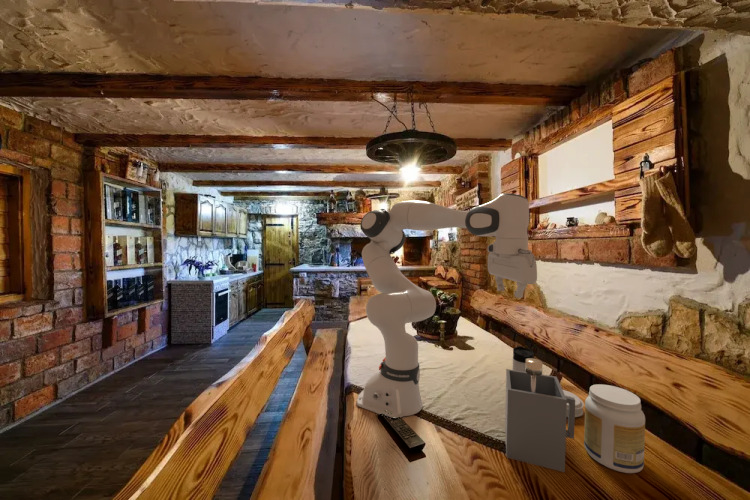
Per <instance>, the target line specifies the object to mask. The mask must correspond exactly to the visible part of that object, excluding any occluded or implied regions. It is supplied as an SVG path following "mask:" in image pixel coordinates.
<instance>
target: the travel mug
mask: <svg viewBox="0 0 750 500" xmlns="http://www.w3.org/2000/svg"><path fill="white" fill-rule="evenodd" d="M528 358H533V359H535V353H534V351H533V350H532V349H530V348H527V347H525V346H523V345H517V346H516V347H514V348H512V370H516V371H523V372H526V371H525V364H526V359H528Z"/></svg>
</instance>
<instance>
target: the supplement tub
mask: <svg viewBox="0 0 750 500" xmlns="http://www.w3.org/2000/svg"><path fill="white" fill-rule="evenodd" d="M641 402H642V401H641V398H640V397H639V396H638V395H636V394H635V393H633V392H631V391H630V390H628V389H625V388H622V387H618V386H614V385H609V384H604V383H603V384H602V383H601V384H600V383H599V384H597V383H596V384H593V385H591V386H590V387H589V392H588V396H586V398H585V401H584V433H583V434H584V435H583V436H584V437H583V439H584V441H583V444H584V449H585V450H586V453H588V455H589V456H590V457H591V458H592V459H593V460H595V461H596V462H598V463H599V464H601V465H603V466H604V467H607V468H608V469H610V470H613V471H616V472H620V473H625V474H636V473H639V472H641V471H642V470H643V468H644V466H645V441H646V440H645V438H646V436H645V435H646V433H645V432H646V415H645V414H644V411H643V410H642V404H641Z"/></svg>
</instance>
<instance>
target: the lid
mask: <svg viewBox="0 0 750 500" xmlns="http://www.w3.org/2000/svg"><path fill="white" fill-rule="evenodd" d="M562 390H563V392H564V395H565V396H567V397H573V398H575V418H577V417H582V416H583V415H584V413H585V410H584V408H585V402H584V401H583V400H582V399H581V398H579V396H578V395H576V394H575V393H573V392H570V391H567V390H565V389H562ZM568 404H569V403H567V413H566V418H568Z"/></svg>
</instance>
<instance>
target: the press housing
mask: <svg viewBox="0 0 750 500" xmlns="http://www.w3.org/2000/svg"><path fill="white" fill-rule="evenodd" d="M505 371H506V372H505V411H504V413H505V416H504V417H505V418H504V429H505V430H504V434H505V435H506V437H505V455H506V459H507V458H508V459H512V460H515V461H518V462H523V463H527V464H531V465H534V466H539V467H542V468H547V469H550V470H554V471H558V472H562V473H566V470H565V469H566V444H567V443H566V441H567V439H566V438H568V439H573V440H574V439H575V426H576V425H575V423H576V422H575V421H576V420H575V419H576V417H575V398H573V397H567V396H565V395H564V392H563V390H564V389H563V388H562V386H561V383H560V380H559V378H558V377H557V376H553V375H548V374H542V375H540V376H536V393H533V392H531V374H528V373H526V372H523V371H516V370H513V369H508V368H506V370H505ZM567 403H569V404H568V417H566V413H567Z"/></svg>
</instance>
